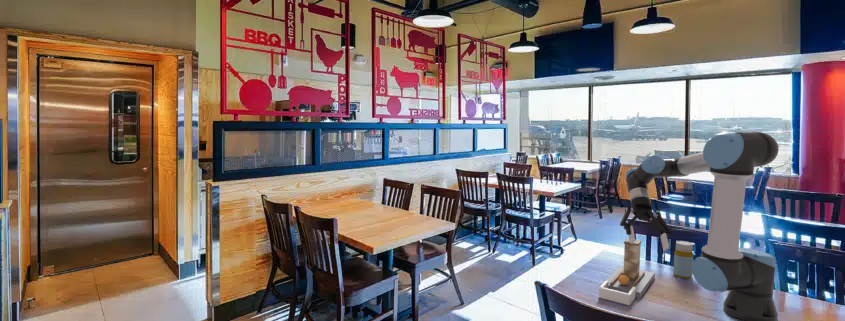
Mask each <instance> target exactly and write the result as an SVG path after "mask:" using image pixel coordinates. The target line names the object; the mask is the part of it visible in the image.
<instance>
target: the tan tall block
mask: <svg viewBox="0 0 845 321" xmlns="http://www.w3.org/2000/svg"><path fill="white" fill-rule="evenodd" d="M623 244H624V250H623V251H624V252H623V266H624V270H623V271H622V275H626V276H627V277H628V278H629V280H633V281H635V280H636V278H637V277H638V276H639V270H640V268H641V267H640V265H641V244H642V240H638V239H635V241H634V242H633V243H632V244H630V241H629V237H628V238H626V239H625V240H623Z"/></svg>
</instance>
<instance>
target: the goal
mask: <svg viewBox="0 0 845 321" xmlns="http://www.w3.org/2000/svg"><path fill="white" fill-rule="evenodd" d="M604 281H605V280H604ZM604 281H603V282H604ZM603 282H602V283H603ZM602 283H601V285H600V286H599V287H598V299H600V300H604V301H608V302H610V303H611V302H612V303H616V304H619V305H623V306H627V307H631V305H632V303H633V302H634V301H635V300H636V299H637V298H636V297H635V295H636V287H632V289H631V290H630V291H629V292H628V293H624V292H620V291H616V290H612V289H608V284H609V281H605V282H604V283H603V284H602Z"/></svg>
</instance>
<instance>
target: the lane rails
mask: <svg viewBox="0 0 845 321" xmlns="http://www.w3.org/2000/svg"><path fill="white" fill-rule="evenodd" d="M623 270H624V268H623V269H622V270H621V272H620V273H619V274H618V275H617V276H616V277H615V278H614V279H613V280H612V281H611V282H610V286H612V285H613V284H614V283H615V282H616V281H617V280H618V278H619V276H621V275H622V271H623ZM644 275H645V272H642V273H641V274H640V276H639V277H638V278H637V279H636V280H635V282H634V283H633V284H632V285H631V287H630V290H631V289H632V287H635V286H636V285H637V284H638V283H639V281H640V280H641V279H642V277H643V276H644Z"/></svg>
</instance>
